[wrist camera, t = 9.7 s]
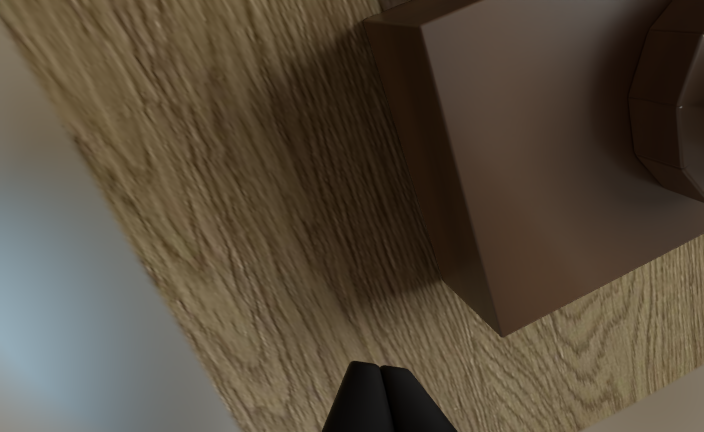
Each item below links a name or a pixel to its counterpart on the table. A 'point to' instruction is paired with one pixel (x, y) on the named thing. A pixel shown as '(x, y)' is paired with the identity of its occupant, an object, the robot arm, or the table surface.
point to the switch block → (547, 140)
